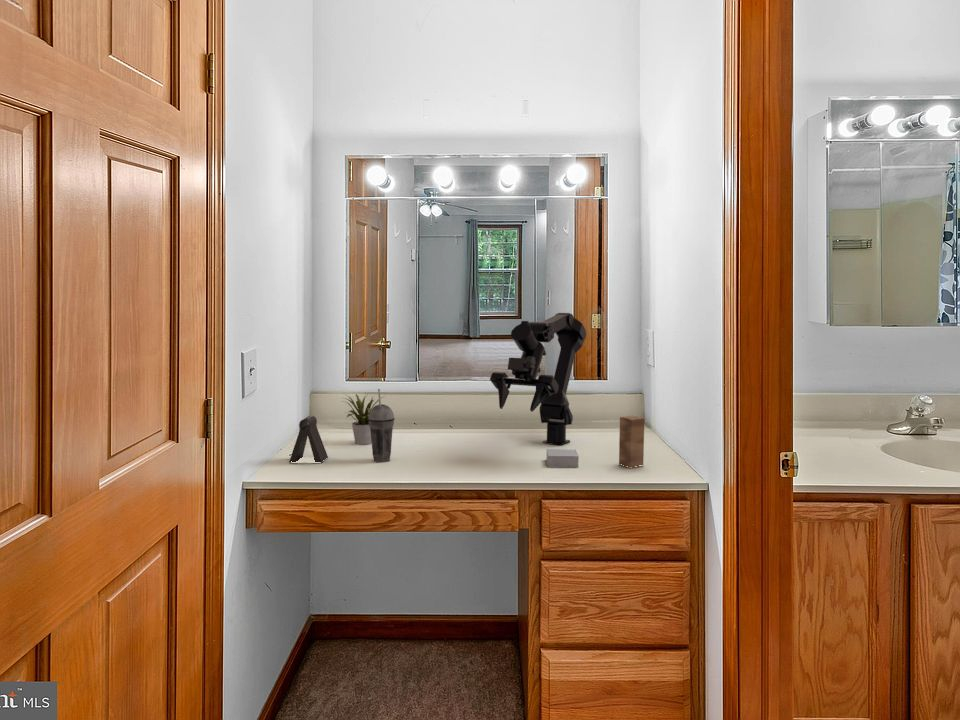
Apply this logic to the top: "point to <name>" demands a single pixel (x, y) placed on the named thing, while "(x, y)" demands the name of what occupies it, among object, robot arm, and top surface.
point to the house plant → (361, 421)
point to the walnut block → (631, 441)
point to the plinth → (562, 458)
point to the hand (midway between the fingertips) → (515, 409)
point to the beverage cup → (381, 431)
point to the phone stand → (314, 441)
